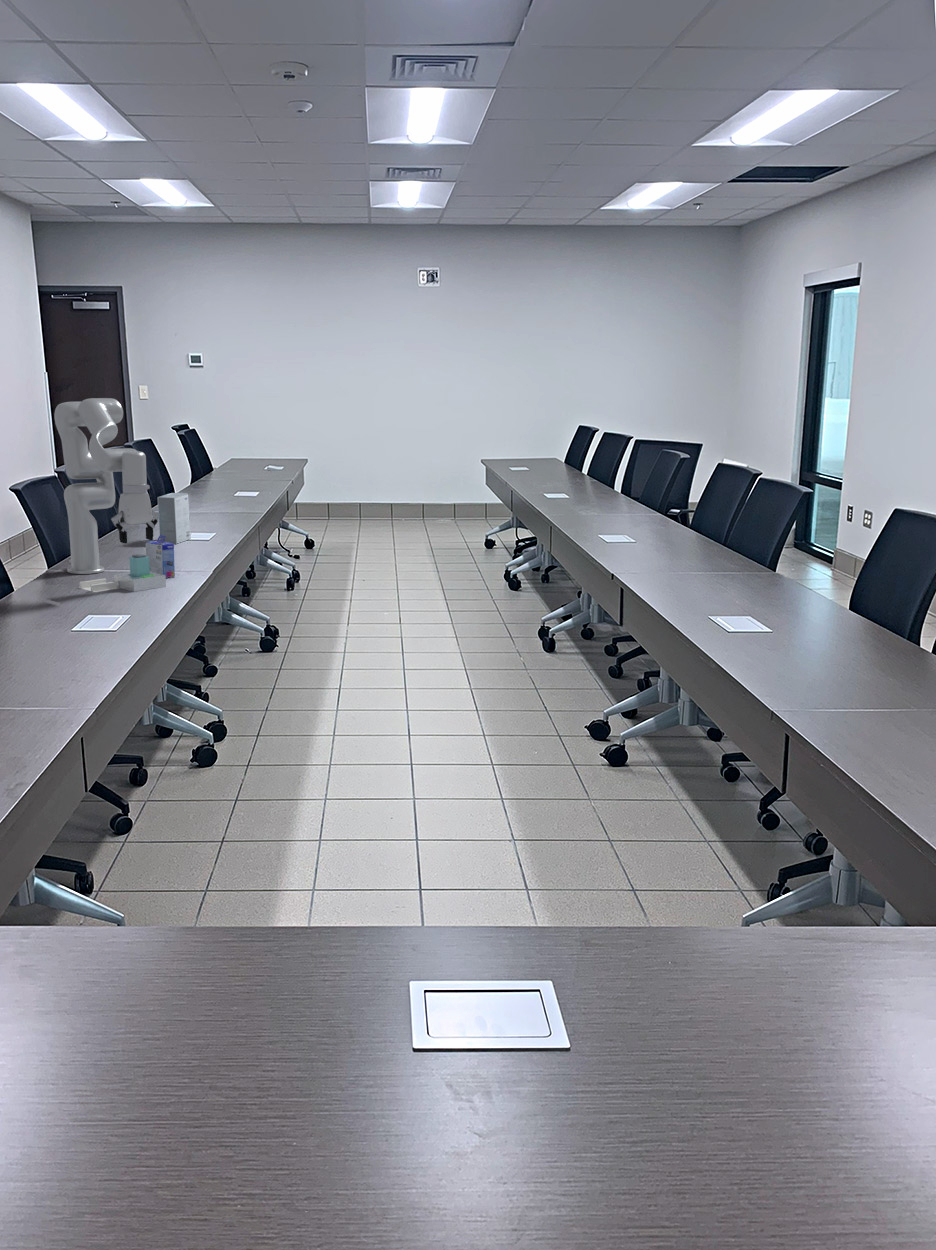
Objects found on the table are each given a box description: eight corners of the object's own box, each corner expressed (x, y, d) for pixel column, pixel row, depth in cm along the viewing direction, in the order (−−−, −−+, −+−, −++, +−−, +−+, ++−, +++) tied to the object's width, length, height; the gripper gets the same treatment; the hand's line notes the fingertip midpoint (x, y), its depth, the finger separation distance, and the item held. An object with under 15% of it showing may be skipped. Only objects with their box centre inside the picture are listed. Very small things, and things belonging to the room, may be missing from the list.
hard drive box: (174, 538, 457) (172, 492, 452) (191, 539, 456) (189, 493, 451) (159, 543, 442) (157, 496, 437) (176, 544, 441) (174, 497, 436)
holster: (78, 590, 346) (77, 581, 346) (103, 586, 353) (102, 578, 352) (94, 595, 340) (94, 586, 339) (119, 591, 347) (118, 582, 346)
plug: (130, 586, 350) (129, 555, 347) (142, 584, 353) (141, 553, 351) (138, 588, 347) (136, 556, 344) (150, 586, 350) (148, 555, 348)
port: (114, 589, 350) (113, 572, 348) (145, 584, 358) (144, 568, 357) (134, 594, 342) (133, 577, 341) (166, 589, 351) (165, 573, 350)
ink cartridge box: (176, 577, 372) (174, 536, 369) (163, 579, 368) (161, 538, 365) (158, 573, 378) (157, 533, 375) (145, 575, 374) (143, 535, 370)
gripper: (151, 486, 351) (153, 536, 356) (104, 490, 339) (106, 542, 343) (164, 489, 347) (165, 540, 351) (117, 492, 334) (119, 545, 338)
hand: (136, 541), depth 347 cm, fingers open, 9 cm apart
